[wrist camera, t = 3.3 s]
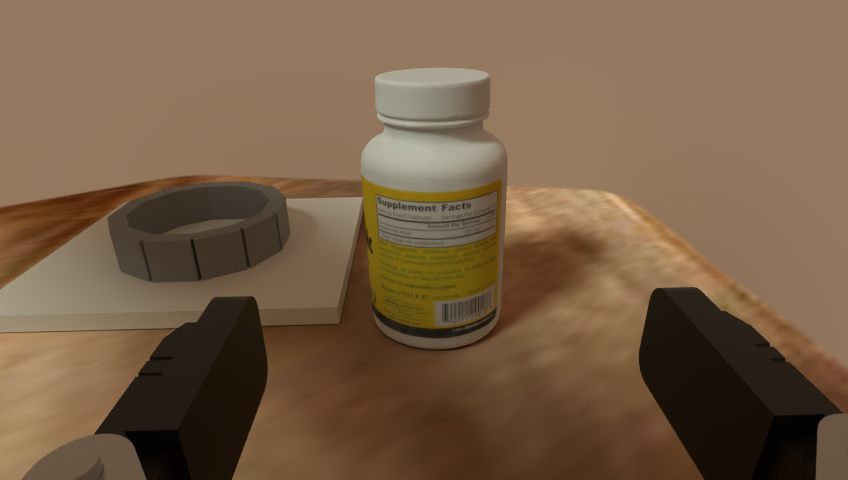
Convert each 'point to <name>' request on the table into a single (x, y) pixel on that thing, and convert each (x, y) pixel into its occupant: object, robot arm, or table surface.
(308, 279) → the socket plate
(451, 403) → the table surface
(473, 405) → the table surface
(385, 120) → the supplement bottle
